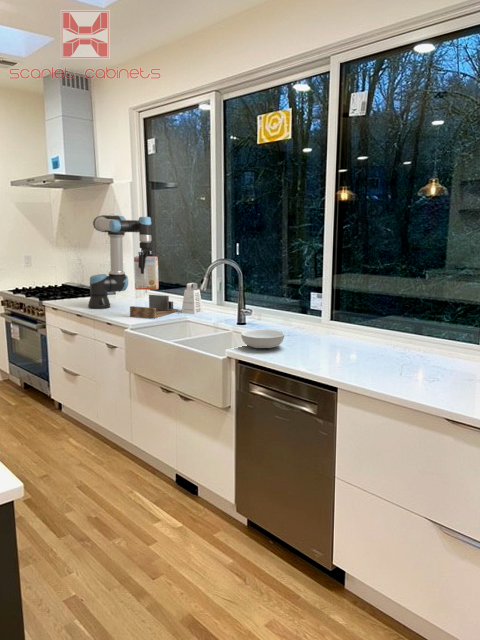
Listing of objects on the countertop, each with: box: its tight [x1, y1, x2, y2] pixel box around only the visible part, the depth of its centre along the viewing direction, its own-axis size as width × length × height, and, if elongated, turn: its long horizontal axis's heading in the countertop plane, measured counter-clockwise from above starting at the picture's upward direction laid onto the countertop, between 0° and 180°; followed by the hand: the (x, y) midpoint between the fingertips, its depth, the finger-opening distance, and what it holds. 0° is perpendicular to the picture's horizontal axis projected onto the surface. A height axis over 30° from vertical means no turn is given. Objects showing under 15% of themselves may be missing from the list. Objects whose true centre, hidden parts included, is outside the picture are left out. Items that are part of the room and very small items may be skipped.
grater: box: [181, 282, 204, 315], centre depth 320 cm, size 10×10×20 cm
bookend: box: [148, 294, 174, 311], centre depth 322 cm, size 14×10×10 cm
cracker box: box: [133, 255, 160, 291], centre depth 301 cm, size 14×6×21 cm, turn 84°
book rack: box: [129, 305, 179, 320], centre depth 314 cm, size 18×31×6 cm, turn 159°
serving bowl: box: [240, 328, 285, 349], centre depth 228 cm, size 21×21×7 cm
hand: (146, 278), depth 301 cm, fingers closed on cracker box, 7 cm apart
